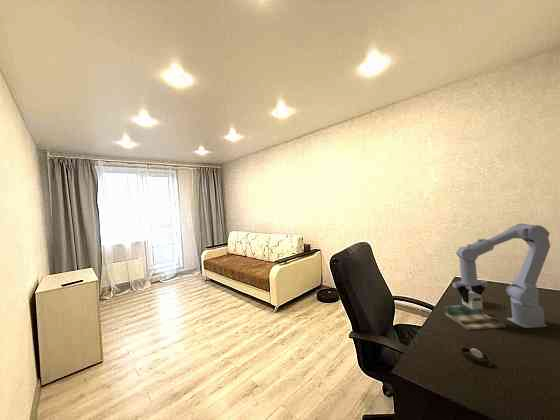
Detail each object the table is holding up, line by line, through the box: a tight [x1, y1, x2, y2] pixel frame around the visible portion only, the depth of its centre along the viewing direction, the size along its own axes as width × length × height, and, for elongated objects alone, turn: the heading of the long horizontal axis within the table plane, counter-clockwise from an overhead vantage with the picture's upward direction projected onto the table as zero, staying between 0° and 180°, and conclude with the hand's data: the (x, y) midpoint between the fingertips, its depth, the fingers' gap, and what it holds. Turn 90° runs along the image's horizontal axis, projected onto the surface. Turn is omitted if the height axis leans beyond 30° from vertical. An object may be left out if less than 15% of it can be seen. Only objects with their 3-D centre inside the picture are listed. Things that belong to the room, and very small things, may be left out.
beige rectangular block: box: [461, 291, 483, 310], centre depth 103 cm, size 4×6×6 cm
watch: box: [461, 347, 490, 366], centre depth 79 cm, size 8×5×4 cm, turn 32°
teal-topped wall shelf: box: [444, 304, 507, 331], centre depth 104 cm, size 16×14×4 cm
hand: (471, 301), depth 104 cm, fingers closed on beige rectangular block, 4 cm apart
